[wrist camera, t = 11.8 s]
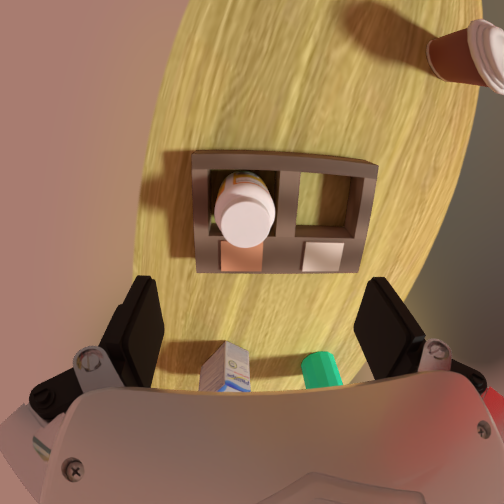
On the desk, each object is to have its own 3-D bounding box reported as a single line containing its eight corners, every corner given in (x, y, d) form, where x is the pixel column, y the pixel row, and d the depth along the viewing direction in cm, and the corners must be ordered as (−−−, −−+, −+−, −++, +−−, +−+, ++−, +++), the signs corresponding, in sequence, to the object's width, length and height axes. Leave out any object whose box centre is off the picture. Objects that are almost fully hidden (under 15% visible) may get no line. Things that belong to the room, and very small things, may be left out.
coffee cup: (462, 43, 20) (521, 39, 9) (466, 98, 24) (529, 107, 14) (415, 21, 20) (475, 2, 9) (419, 81, 24) (487, 80, 13)
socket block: (196, 150, 28) (191, 154, 24) (364, 160, 29) (379, 166, 25) (200, 257, 34) (196, 274, 30) (348, 258, 35) (358, 274, 31)
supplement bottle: (235, 224, 32) (234, 267, 23) (209, 186, 30) (197, 215, 21) (276, 201, 31) (291, 236, 22) (251, 160, 29) (258, 179, 20)
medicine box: (222, 374, 44) (221, 416, 37) (200, 365, 43) (196, 407, 35) (249, 350, 42) (252, 394, 34) (225, 339, 40) (223, 384, 33)
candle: (313, 348, 42) (329, 408, 32) (340, 354, 44) (360, 410, 33) (294, 369, 45) (305, 428, 34) (321, 375, 46) (336, 429, 35)
